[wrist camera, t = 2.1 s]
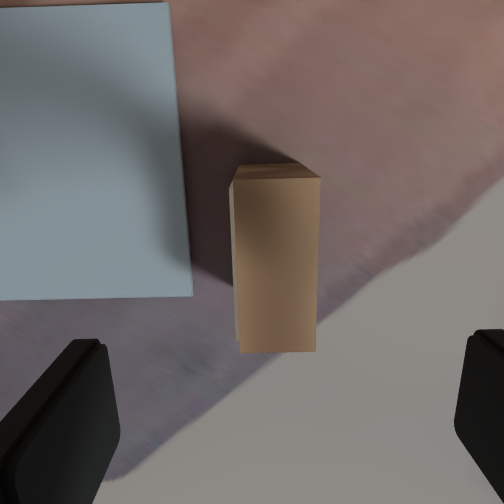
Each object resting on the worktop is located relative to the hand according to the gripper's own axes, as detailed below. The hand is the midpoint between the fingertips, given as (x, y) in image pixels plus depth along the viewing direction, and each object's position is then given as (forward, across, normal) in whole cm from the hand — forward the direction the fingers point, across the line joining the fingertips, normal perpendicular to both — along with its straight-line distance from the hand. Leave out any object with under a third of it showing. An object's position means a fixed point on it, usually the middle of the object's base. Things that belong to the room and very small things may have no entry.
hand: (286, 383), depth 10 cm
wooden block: (+14, 0, -1) cm, 14 cm away
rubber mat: (+14, +13, -5) cm, 19 cm away
